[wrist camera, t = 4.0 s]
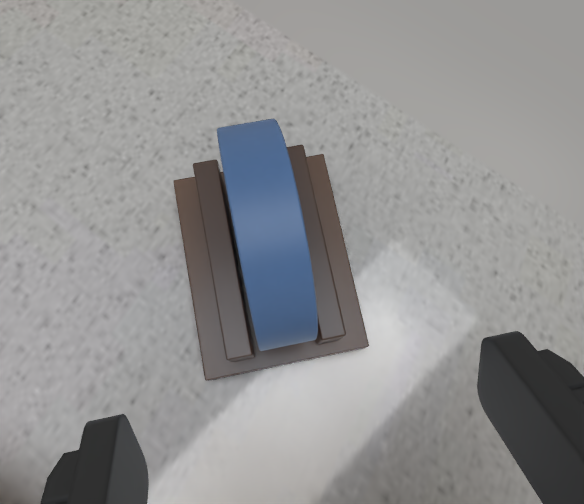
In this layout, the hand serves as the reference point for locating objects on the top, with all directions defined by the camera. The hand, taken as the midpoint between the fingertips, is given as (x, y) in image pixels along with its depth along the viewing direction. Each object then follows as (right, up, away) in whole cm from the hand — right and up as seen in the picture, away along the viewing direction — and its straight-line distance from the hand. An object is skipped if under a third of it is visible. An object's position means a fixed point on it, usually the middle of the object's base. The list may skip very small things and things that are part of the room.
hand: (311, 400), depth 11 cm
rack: (-1, +3, +12) cm, 13 cm away
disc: (-1, +4, +7) cm, 8 cm away
